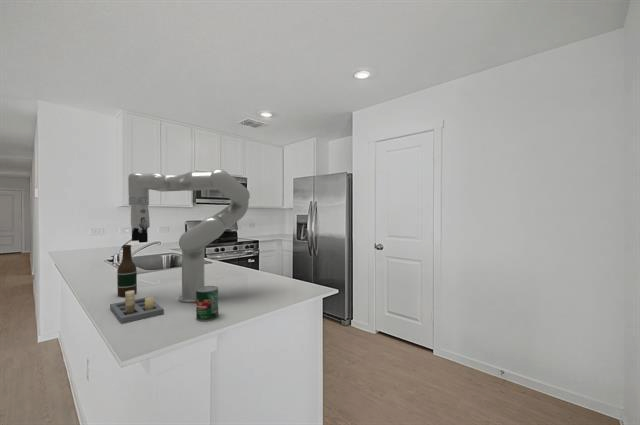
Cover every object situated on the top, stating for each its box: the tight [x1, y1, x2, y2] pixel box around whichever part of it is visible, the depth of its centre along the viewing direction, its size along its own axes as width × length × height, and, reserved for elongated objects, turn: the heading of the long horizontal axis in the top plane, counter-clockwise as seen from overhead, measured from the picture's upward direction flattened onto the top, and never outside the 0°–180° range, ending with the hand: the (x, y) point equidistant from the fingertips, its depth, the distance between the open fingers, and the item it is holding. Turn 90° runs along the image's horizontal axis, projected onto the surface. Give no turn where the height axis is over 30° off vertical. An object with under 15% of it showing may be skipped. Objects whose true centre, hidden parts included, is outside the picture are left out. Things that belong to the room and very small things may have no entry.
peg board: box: [109, 296, 165, 325], centre depth 119 cm, size 22×14×6 cm, turn 44°
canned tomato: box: [195, 285, 219, 322], centre depth 113 cm, size 8×8×11 cm
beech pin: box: [124, 290, 136, 315], centre depth 113 cm, size 3×3×10 cm
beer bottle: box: [116, 244, 138, 298], centre depth 142 cm, size 8×8×24 cm
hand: (139, 241), depth 129 cm, fingers open, 9 cm apart
